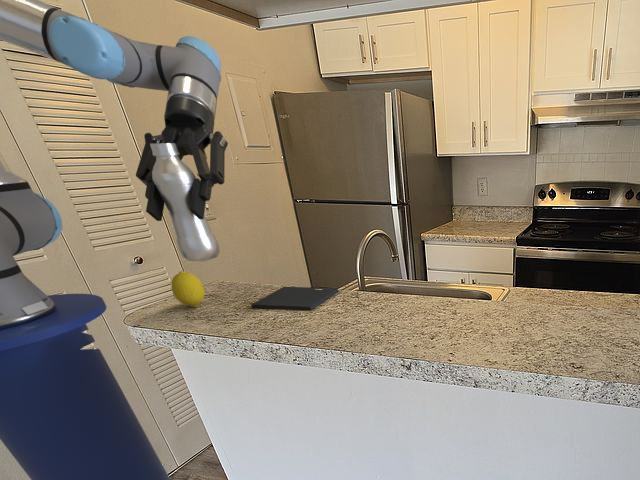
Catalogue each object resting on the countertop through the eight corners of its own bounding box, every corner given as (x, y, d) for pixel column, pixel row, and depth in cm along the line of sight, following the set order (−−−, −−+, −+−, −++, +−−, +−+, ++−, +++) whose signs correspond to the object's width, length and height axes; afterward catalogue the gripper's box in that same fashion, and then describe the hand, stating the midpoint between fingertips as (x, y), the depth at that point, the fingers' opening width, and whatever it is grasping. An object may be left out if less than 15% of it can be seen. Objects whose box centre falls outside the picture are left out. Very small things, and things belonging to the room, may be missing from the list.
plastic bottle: (198, 266, 74) (154, 143, 65) (175, 262, 77) (130, 144, 67) (230, 258, 79) (194, 142, 70) (208, 254, 82) (170, 143, 72)
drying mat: (251, 307, 86) (250, 304, 86) (284, 289, 97) (283, 286, 96) (311, 310, 84) (310, 306, 84) (338, 291, 94) (338, 288, 94)
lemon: (174, 312, 85) (158, 275, 82) (190, 303, 90) (176, 267, 86) (200, 311, 85) (186, 274, 82) (215, 302, 90) (202, 267, 86)
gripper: (253, 127, 81) (243, 225, 75) (152, 129, 80) (133, 230, 74) (233, 93, 74) (220, 199, 68) (122, 95, 73) (98, 203, 66)
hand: (175, 215), depth 71 cm, fingers closed on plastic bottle, 6 cm apart
